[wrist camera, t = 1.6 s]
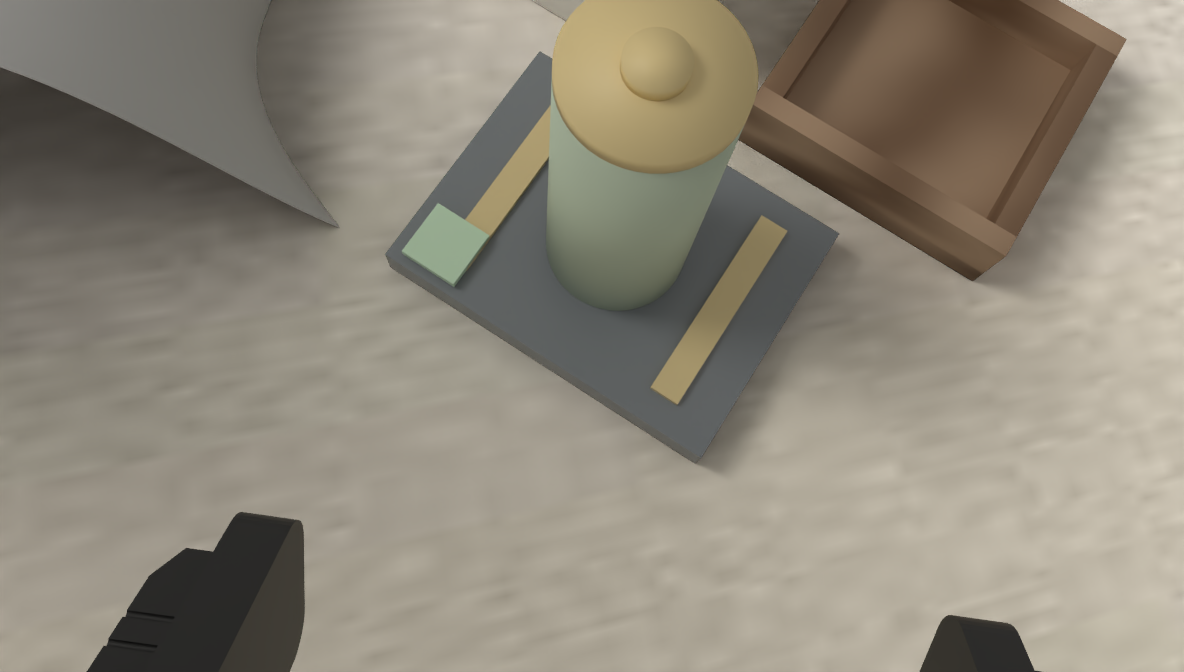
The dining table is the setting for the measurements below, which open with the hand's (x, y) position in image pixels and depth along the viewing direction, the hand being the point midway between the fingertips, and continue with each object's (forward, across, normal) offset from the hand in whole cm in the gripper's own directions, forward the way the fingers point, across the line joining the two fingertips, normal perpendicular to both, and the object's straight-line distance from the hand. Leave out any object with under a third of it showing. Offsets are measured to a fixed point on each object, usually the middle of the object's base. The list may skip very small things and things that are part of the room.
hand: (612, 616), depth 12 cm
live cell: (+21, 0, +4) cm, 21 cm away
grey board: (+22, 0, +5) cm, 22 cm away
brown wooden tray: (+27, -10, 0) cm, 29 cm away
